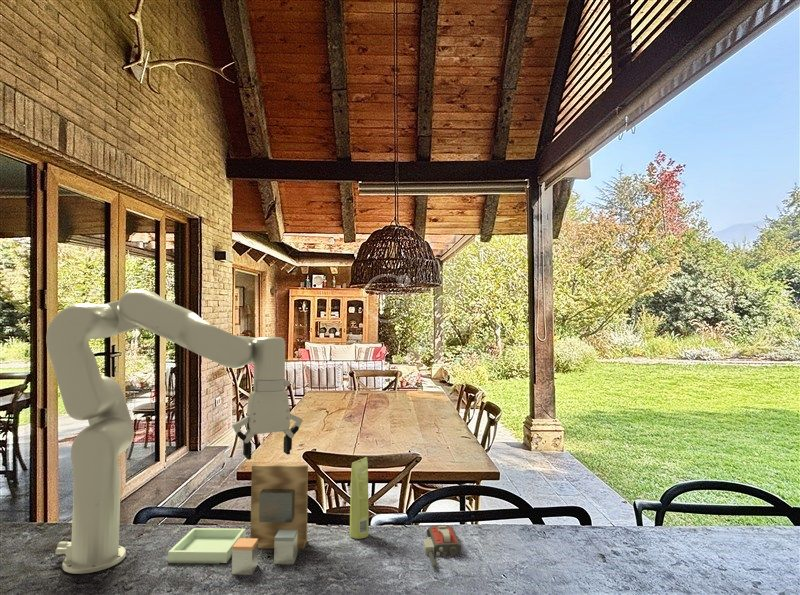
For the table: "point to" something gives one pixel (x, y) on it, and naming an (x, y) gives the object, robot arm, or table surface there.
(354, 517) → the tube
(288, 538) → the block
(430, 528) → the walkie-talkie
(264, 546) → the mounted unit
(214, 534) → the tray
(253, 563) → the block
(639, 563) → the table surface
